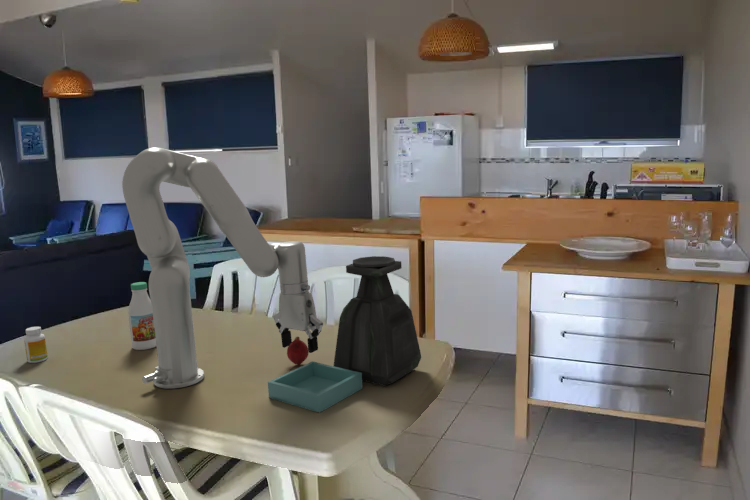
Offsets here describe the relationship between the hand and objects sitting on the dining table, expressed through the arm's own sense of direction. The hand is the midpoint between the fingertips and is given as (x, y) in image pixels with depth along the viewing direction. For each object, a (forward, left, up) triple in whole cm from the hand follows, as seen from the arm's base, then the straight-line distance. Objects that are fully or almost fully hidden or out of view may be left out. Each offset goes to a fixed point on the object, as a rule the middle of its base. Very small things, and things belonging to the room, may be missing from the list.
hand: (300, 348), depth 168 cm
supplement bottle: (-37, +71, -5) cm, 80 cm away
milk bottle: (-13, +53, -5) cm, 55 cm away
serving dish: (-13, -17, -5) cm, 21 cm away
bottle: (+5, -22, -5) cm, 23 cm away
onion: (-1, 0, -5) cm, 5 cm away
